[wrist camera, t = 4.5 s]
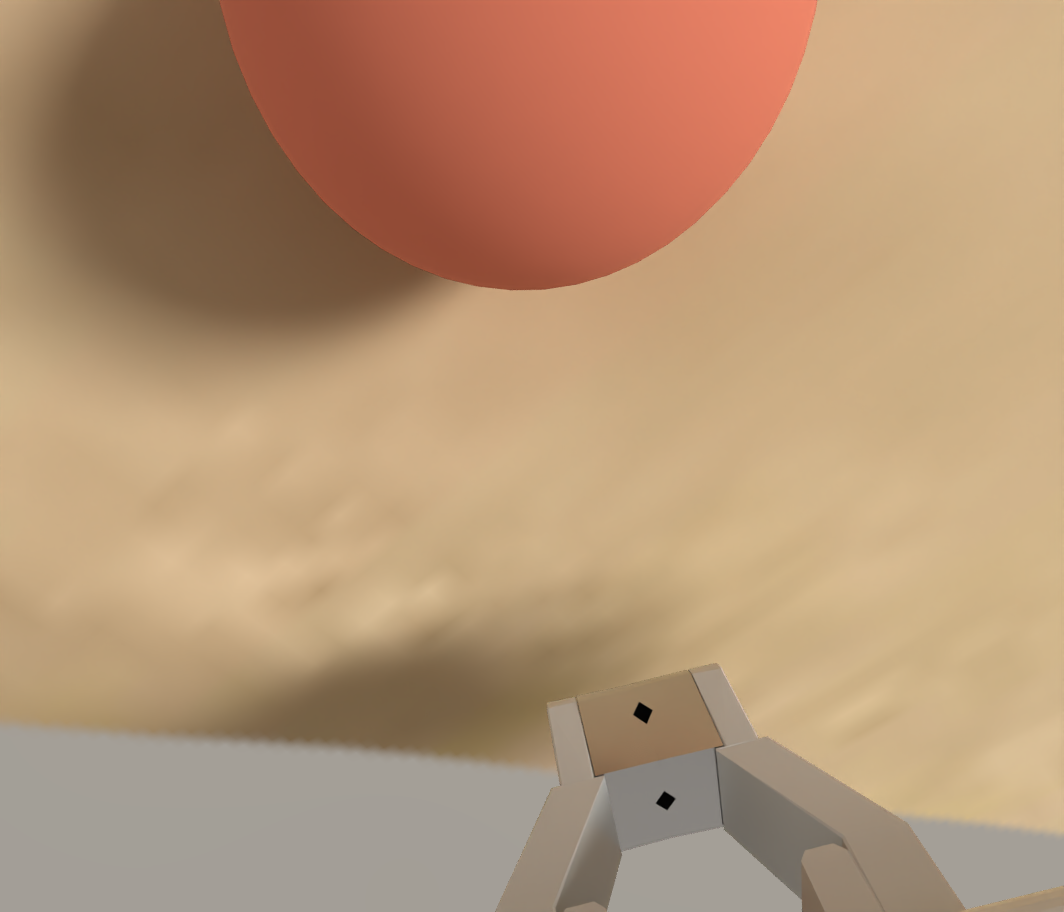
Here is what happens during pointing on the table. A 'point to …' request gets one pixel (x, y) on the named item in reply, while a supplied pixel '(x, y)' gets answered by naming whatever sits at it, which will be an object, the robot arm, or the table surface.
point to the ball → (519, 120)
